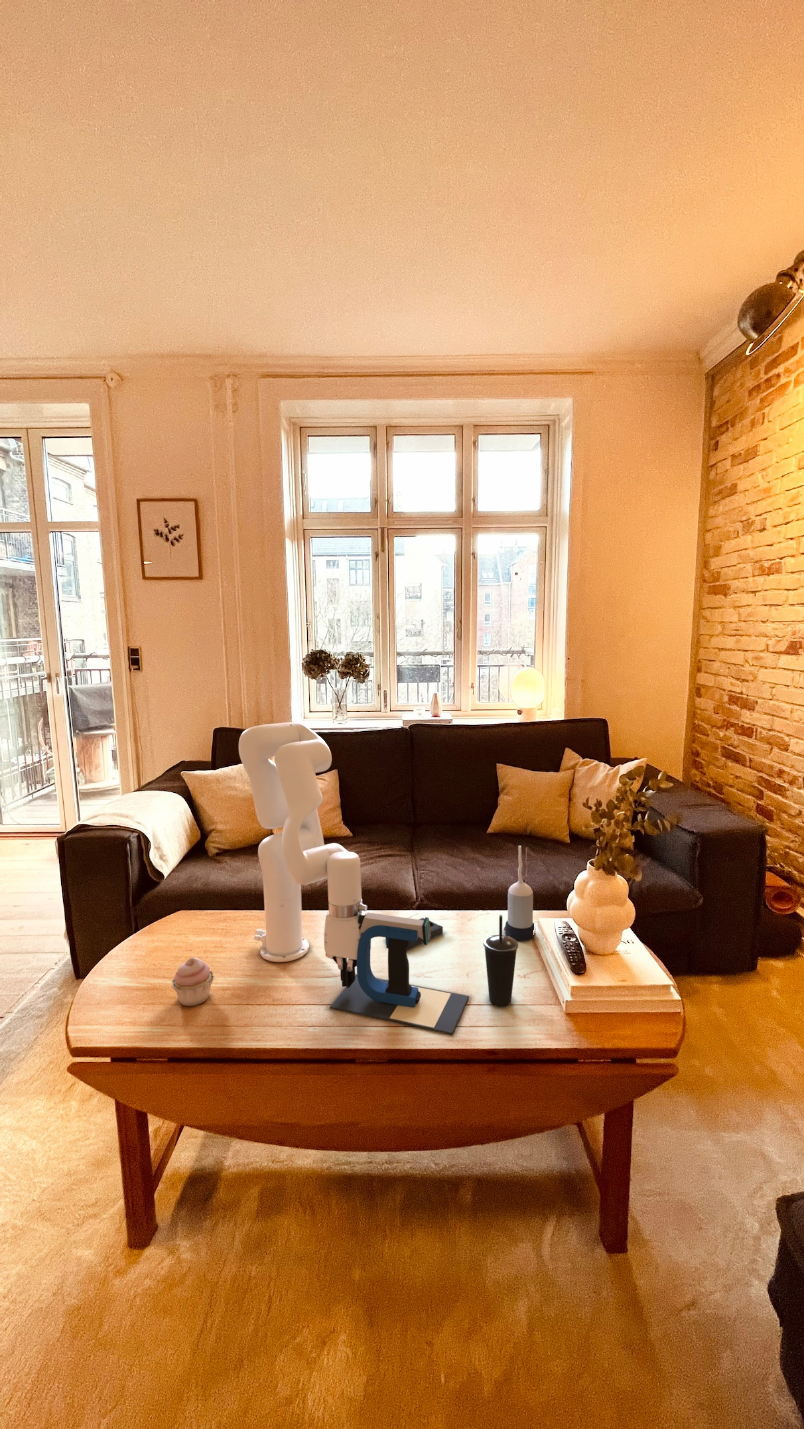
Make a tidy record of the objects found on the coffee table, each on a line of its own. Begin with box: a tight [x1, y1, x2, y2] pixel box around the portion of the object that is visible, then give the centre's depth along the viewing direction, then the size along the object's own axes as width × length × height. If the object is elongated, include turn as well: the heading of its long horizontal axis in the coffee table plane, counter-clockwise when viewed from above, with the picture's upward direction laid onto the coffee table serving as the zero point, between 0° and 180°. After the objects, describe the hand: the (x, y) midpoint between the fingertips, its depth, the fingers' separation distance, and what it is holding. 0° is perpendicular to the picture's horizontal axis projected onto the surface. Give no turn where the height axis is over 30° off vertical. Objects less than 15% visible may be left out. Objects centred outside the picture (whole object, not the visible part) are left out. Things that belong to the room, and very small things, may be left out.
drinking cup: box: [482, 914, 519, 1008], centre depth 134 cm, size 8×8×20 cm
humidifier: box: [503, 845, 535, 942], centre depth 165 cm, size 8×8×25 cm
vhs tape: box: [407, 917, 444, 951], centre depth 165 cm, size 14×8×2 cm, turn 132°
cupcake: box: [171, 957, 215, 1007], centre depth 137 cm, size 9×9×10 cm
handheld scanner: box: [356, 912, 431, 1008], centre depth 133 cm, size 5×16×20 cm, turn 77°
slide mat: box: [329, 973, 470, 1035], centre depth 135 cm, size 28×14×1 cm, turn 70°
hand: (348, 984), depth 138 cm, fingers closed
